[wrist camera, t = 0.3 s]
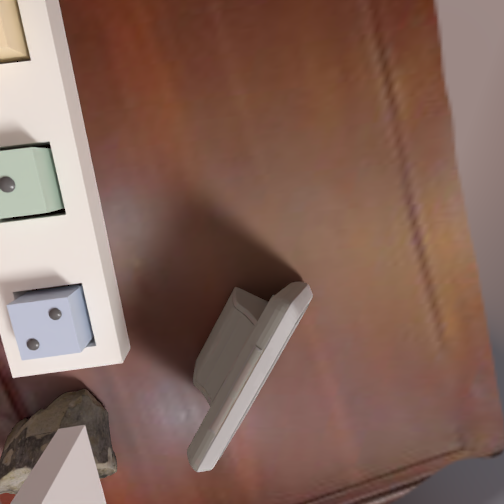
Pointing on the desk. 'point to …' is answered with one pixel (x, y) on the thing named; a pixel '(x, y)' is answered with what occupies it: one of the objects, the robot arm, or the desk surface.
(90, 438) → the grey rock
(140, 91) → the desk surface
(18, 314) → the tile two
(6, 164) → the tile one
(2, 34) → the tile three
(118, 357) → the tile panel
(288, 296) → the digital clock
